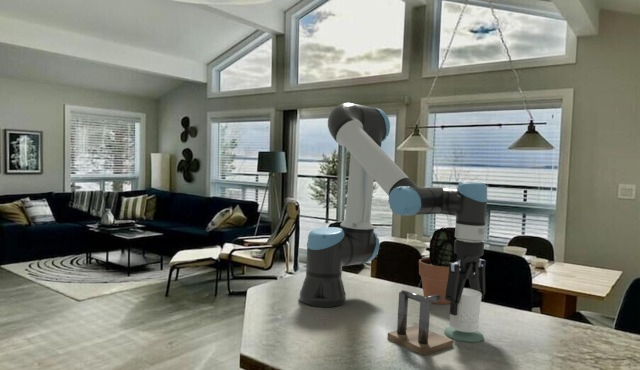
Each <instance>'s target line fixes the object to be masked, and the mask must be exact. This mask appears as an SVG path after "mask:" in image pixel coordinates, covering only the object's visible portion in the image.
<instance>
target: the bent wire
mask: <svg viewBox="0 0 640 370" xmlns="http://www.w3.org/2000/svg"><path fill="white" fill-rule="evenodd" d="M409 299H410V300H413V301H416V302H418V303H419V318H418V319H419V320H418V321H419V322H418V326H419V333H418V343H420V344H424V345H425V344H428V334H429V331H430V316H431V314H430V313H431V304H433V303H432V302H436V301H440V300H441V295H439V294H437V295H432V296H428V297H424V295H420V294H417V293H414V292H411V291H409V290H406V289H402V290H400V291H399V292H398V304H397V305H398V306H397V307H398V308H397V322H396V324H397V325H396V330H397V334H400V335H406V329H407V326H408V310H409V309H408V308H409Z"/></svg>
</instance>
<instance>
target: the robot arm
mask: <svg viewBox="0 0 640 370" xmlns="http://www.w3.org/2000/svg"><path fill="white" fill-rule="evenodd" d="M327 127H328V131H329V135H331V137H332V138H333V139H334V141H335V142H336V143H337V144H338V146H341V147H345V148H346V150H347V151H348V152H349V153H350V157H349V158H350V160H349V171H348V182H347V183H348V184H347V195H346V207H345V218H344V219H343V221H342V222H341V223H340V226H339V227H335V226H328V227H327V226H326V227H325V226H323V227H318V228H315V229H312V230H310V232H309V233H308V236H307V242H306V267H305V277H304V280H303V282H302V286H301V289H300V291H299V301H300V302H302V303H303V304H305V305H308V306H312V307H320V308H332V307H334V308H335V307H339V306H342V305H344V304H345V303H346V298H347V294H346V289H345V286H344V283H343V279H342V273H343V267H345V266H353V265H363V264H366V263H370V262H371V261H373V260H374V259H375V258H376V257H377V255H378V254H379V250H380V239H379V237H378V234H377V233H376V232H375V230H374V229H375V226H374V225H373V224H372V223H371V214H372V203H373V202H372V201H373V192H374V191H373V190H374V181H375V182H376V183H377V184H378V186H379V187H380V188H381V189H382V190H383V191H384V193H385V194H386V195H387V196H388V204H389V209H390V210H391V211H392V212H393V213H394V214H396V215H398V216H407V217H409V216H419V215H447V216H454V217H455V227H454V228H455V230H454V237H455V238H456V239H454V252H455V253H456V254H457V257H456V260H455V261H456V262H455V263H449V275H448V282H447V288H446V295H445V300H447V301H450V303H449V306H450V307H449V314H450V315H449V327H450V326H453V327H456V328H460V319H461V303H459V302H460V298H461V295H462V292H463V288H465V284H466V281H467V280H468V285H469V289H473V290H477V291H479V292H481V293H482V296H481V300H484V298H485V294H486V266H487V265H486V264H487V260H485V259H482V258H480V257H482V256H484V254H485V253H484V252H485V251H484V250H485V243H484V240H485V235H486V234H485V233H486V218H487V206H488V205H487V204H488V186H487V184H485V183H483V182H471V181H468V182H467V181H460V182H459V183H458V184H457V188H452V187H451V188H450V187H442V186H440V187H439V186H431V185H430V186H418V185H417V184H416V183H415V182H414V181H413V180H412V179H411V178H410V177H409V176H408V175H407V174H406V173H405V172H404V171H403V170H402V168H400V167H399V166H398V165H397V163H395V162H394V160H393V159H392V158H391V157H390V156H389V155H388V154H387V153H386V152H385V150H384V149H382V142H384V141H386V139H387V137H389V134H390V131H391V123H390V119H389V116H388V115H387V114H386V112H385V111H384V110H382V109H380V108H377V107H375V106H368V105H362V104H356V103H351V102H344V103H341V104H338V105H336V106H335V107H334V108H333V109H332V110H331V111H330V113H329V114H328V117H327Z"/></svg>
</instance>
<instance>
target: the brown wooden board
mask: <svg viewBox="0 0 640 370" xmlns="http://www.w3.org/2000/svg"><path fill="white" fill-rule="evenodd" d="M418 333H419V325H416V324H415V325H411V326H408V327H407V329H406V335H400V334H397V329H396V330H393V331H390V332H387V339H388V340H390V341H391V342H394V343H397V344H398V345H401V346H403V347H404V348H407V349H409V350H410V351H413V352H415V353H417V354H420V355H422V356H427V355H431V354H433V353H437V352H439V351H442V350H446V349H448V348H450V347H453V346H454V344H453V342H454V339H452V338H449V337H447V336H443V335H441V334H439V333H438V332H437V333H436V332H434V331H431V330H429V334H428V344H425V345H424V344H420V343H418Z"/></svg>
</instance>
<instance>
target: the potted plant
mask: <svg viewBox="0 0 640 370" xmlns="http://www.w3.org/2000/svg"><path fill="white" fill-rule="evenodd" d="M429 240H430V241H429V251H428V253H429V254H428V255H429V256H428V257H426V258H425V257H424V258H421V259H419V260H418V275H419V276H420V278H421V284H422V285H421V286H422V294H423V296H424V297H428V296H432V295H437V294H439V295H441V300H440V301H436V302H432V303H431V304H436V305H448V304H450V301H447V300H445V295H446V288H447V282H448V275H449V263H455V262H456V260H457V254H456V253H455V252H454V243H455V239H454V235H453V232H451V231H450V230H449V229H447V228H445V227H440V228H438V229H436V230H434V231H433V233H432V236H431V238H430V239H429Z"/></svg>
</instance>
